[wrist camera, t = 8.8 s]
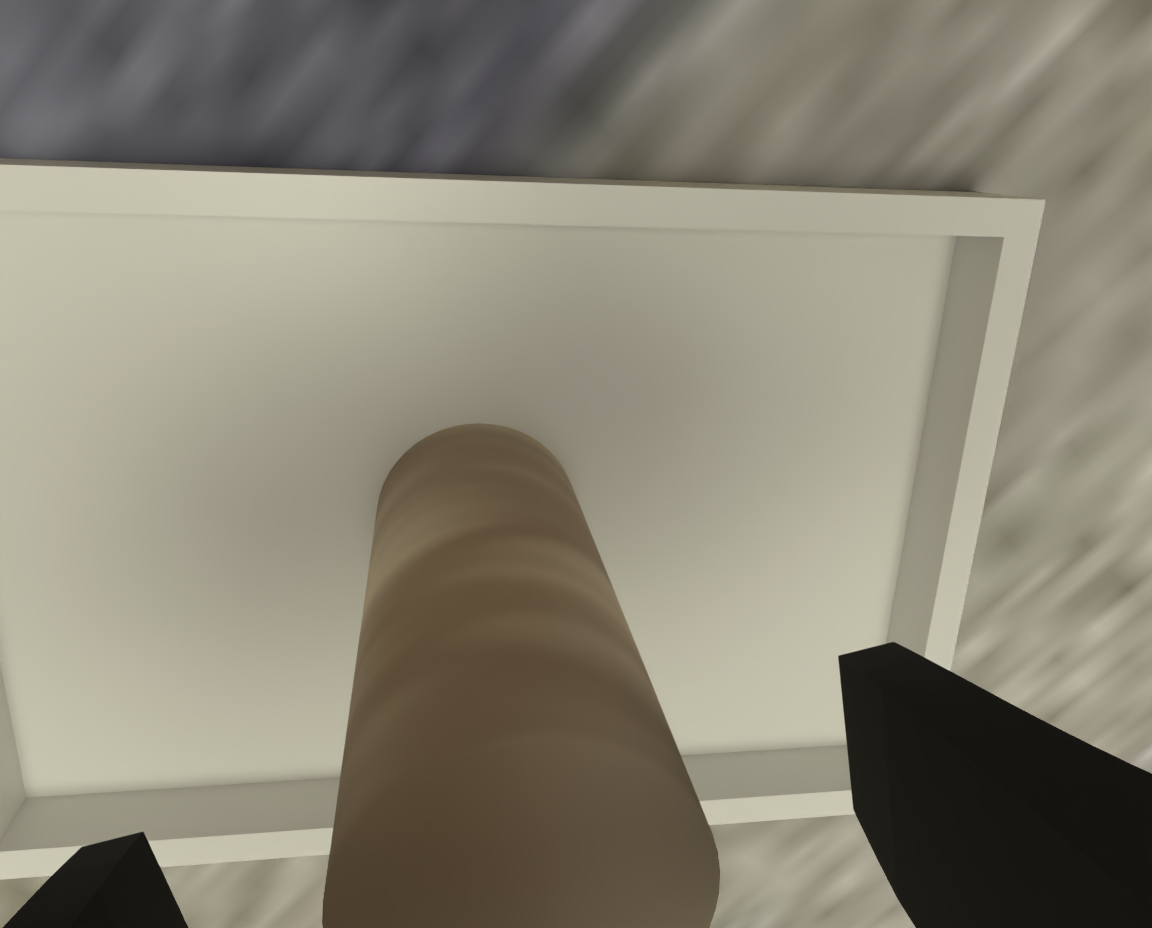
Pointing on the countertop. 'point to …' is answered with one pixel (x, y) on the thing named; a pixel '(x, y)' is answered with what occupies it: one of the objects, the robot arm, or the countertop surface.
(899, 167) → the countertop surface
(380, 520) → the wooden pin
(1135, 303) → the countertop surface
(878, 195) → the cream tray
